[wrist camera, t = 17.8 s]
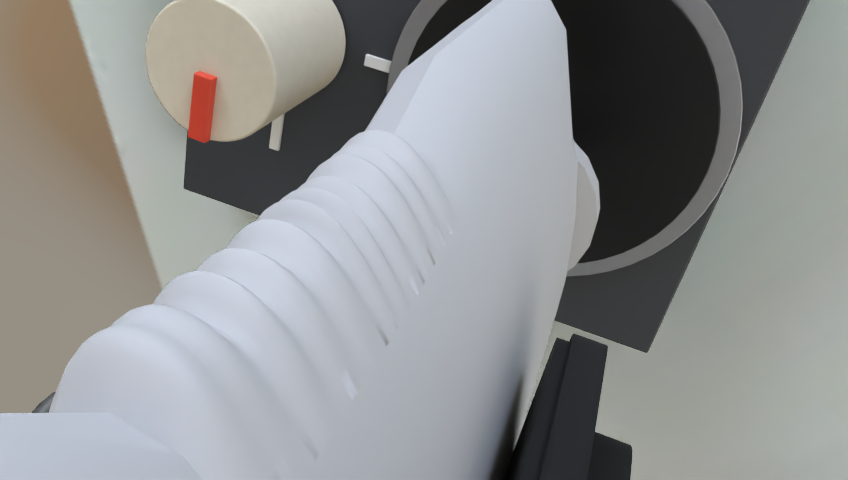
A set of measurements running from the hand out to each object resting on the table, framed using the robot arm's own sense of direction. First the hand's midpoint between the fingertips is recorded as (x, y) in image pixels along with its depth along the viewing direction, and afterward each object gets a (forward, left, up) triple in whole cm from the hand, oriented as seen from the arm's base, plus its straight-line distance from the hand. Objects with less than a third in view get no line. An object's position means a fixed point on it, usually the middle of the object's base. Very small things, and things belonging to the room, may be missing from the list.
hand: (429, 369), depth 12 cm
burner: (0, 0, -14) cm, 14 cm away
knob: (+9, 0, -14) cm, 16 cm away
